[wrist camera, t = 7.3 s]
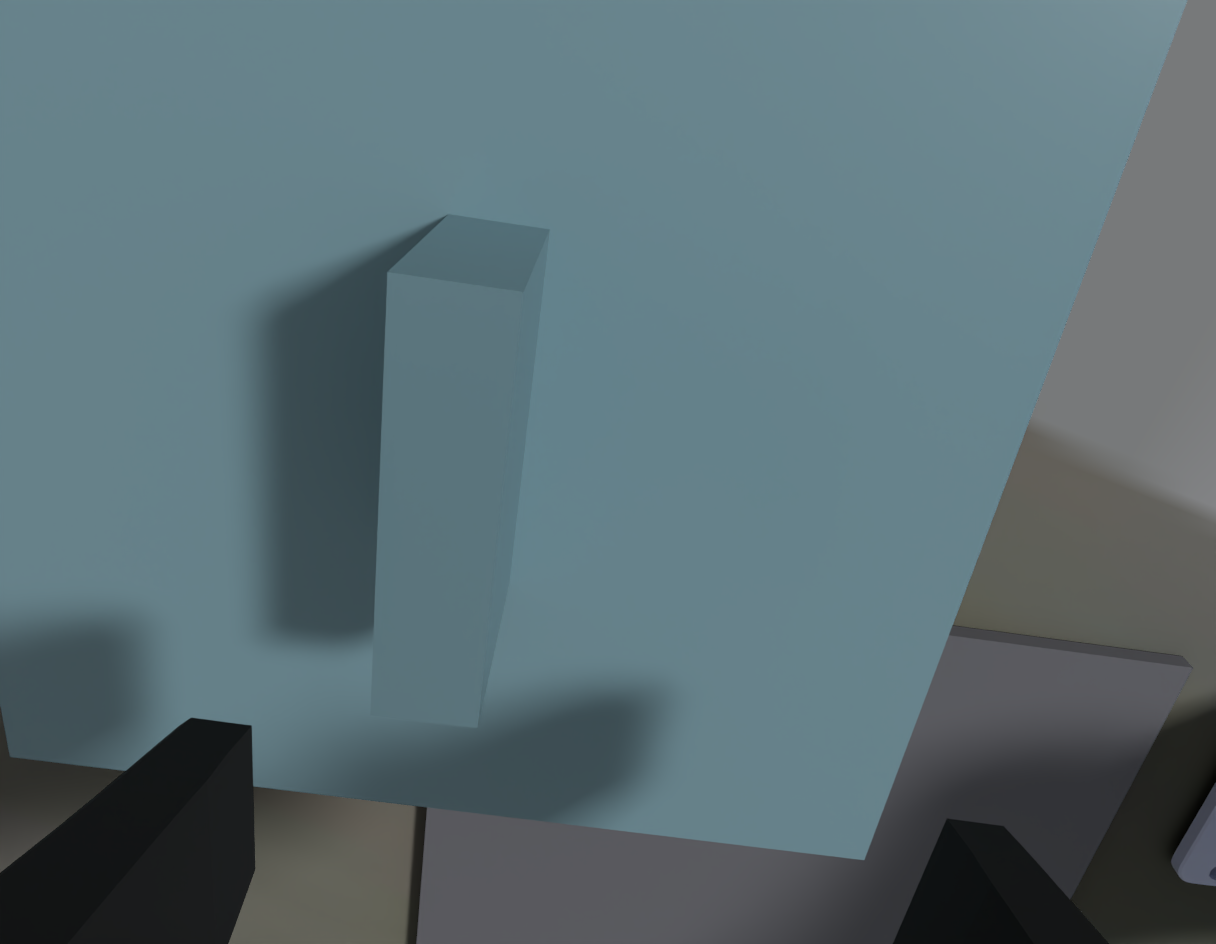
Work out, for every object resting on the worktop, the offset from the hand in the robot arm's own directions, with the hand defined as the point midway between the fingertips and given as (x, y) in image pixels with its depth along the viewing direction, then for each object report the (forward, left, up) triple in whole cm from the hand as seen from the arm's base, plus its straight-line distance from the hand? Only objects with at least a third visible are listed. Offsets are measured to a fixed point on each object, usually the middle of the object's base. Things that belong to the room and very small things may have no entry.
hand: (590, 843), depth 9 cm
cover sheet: (+2, -3, -5) cm, 6 cm away
